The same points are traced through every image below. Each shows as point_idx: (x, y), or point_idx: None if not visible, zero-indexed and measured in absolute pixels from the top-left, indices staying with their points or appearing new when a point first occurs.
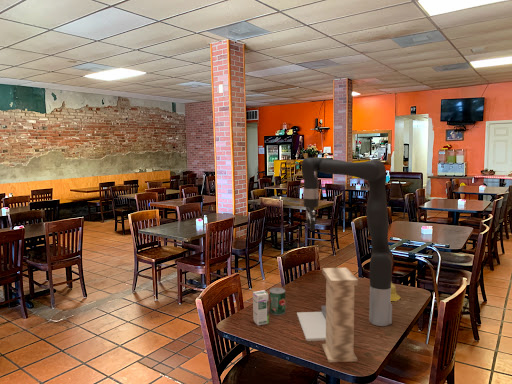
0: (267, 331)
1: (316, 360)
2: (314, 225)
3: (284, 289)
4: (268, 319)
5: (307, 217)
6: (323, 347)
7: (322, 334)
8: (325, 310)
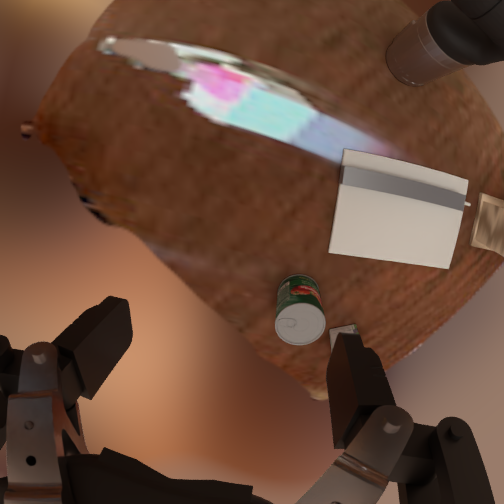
0: (385, 330)
1: (492, 269)
2: (371, 384)
3: (298, 304)
4: (357, 330)
5: (85, 444)
6: (480, 247)
7: (446, 230)
8: (377, 186)
